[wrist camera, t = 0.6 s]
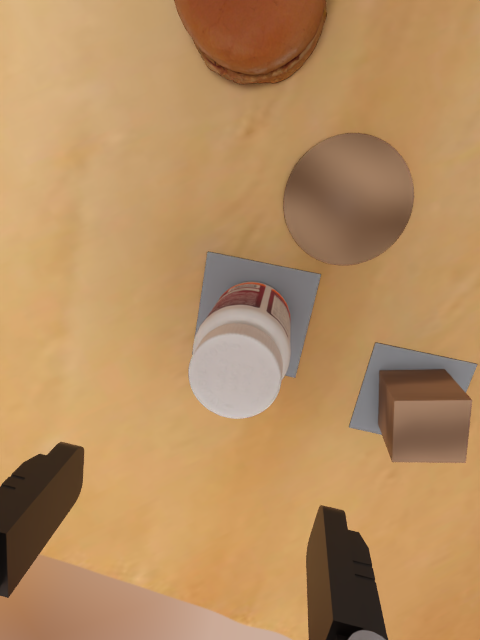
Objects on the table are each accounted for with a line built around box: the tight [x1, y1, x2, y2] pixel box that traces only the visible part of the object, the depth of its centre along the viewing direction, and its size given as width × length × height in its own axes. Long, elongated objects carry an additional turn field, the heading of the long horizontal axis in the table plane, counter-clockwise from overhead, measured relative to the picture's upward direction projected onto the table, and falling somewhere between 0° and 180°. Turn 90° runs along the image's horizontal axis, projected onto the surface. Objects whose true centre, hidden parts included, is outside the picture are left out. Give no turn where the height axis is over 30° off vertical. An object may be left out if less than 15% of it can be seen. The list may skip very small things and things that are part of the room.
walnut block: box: [378, 369, 472, 463], centre depth 30 cm, size 5×5×5 cm
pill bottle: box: [189, 282, 291, 419], centre depth 26 cm, size 6×6×11 cm
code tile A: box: [192, 252, 321, 378], centre depth 32 cm, size 9×9×1 cm
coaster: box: [284, 133, 414, 265], centre depth 28 cm, size 9×9×1 cm
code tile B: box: [349, 343, 477, 435], centre depth 32 cm, size 8×8×1 cm
